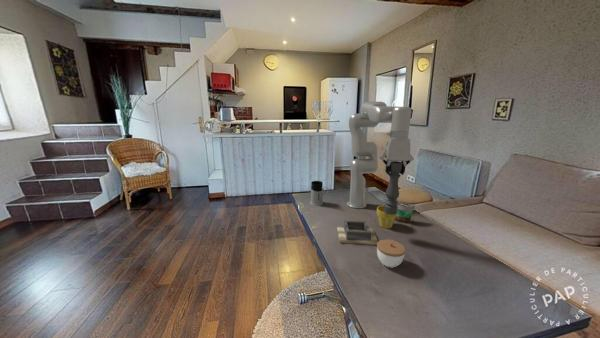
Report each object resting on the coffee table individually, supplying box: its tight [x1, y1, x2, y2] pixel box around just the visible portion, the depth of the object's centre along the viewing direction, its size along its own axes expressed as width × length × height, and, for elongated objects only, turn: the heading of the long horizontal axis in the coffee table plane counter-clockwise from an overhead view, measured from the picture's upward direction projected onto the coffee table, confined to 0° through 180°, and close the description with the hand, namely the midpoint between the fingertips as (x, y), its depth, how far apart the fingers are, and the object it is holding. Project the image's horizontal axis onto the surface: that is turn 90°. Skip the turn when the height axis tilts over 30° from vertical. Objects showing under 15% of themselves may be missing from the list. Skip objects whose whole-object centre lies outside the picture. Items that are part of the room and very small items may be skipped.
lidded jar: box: [376, 239, 406, 269], centre depth 93 cm, size 11×11×9 cm
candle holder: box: [383, 161, 403, 215], centre depth 108 cm, size 6×6×25 cm
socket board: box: [336, 220, 379, 245], centre depth 113 cm, size 13×18×6 cm
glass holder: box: [309, 180, 329, 207], centre depth 152 cm, size 9×14×15 cm, turn 43°
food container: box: [394, 203, 416, 224], centre depth 129 cm, size 12×6×10 cm, turn 68°
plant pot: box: [376, 205, 397, 229], centre depth 124 cm, size 10×10×10 cm
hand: (394, 173), depth 106 cm, fingers closed on candle holder, 5 cm apart
